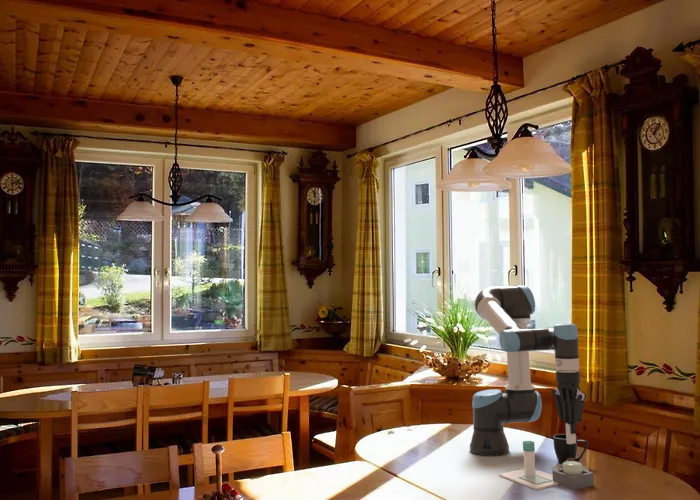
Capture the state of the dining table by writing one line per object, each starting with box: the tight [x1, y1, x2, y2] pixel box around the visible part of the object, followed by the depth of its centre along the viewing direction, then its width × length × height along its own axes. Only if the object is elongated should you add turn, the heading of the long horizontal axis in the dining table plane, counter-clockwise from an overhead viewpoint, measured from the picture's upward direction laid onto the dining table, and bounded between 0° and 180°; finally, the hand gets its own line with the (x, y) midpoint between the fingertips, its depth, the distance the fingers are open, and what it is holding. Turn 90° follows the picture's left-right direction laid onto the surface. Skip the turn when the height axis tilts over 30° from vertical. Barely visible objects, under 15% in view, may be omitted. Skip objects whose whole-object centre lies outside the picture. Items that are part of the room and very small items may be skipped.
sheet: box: [498, 468, 559, 491], centre depth 219 cm, size 18×14×1 cm
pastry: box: [552, 458, 590, 472], centre depth 227 cm, size 12×12×5 cm
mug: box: [552, 433, 589, 465], centre depth 235 cm, size 8×12×10 cm
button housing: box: [551, 468, 595, 491], centre depth 212 cm, size 9×9×4 cm
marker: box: [522, 440, 536, 478], centre depth 219 cm, size 4×4×12 cm
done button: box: [563, 461, 583, 476], centre depth 212 cm, size 6×6×4 cm
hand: (571, 443), depth 212 cm, fingers closed
